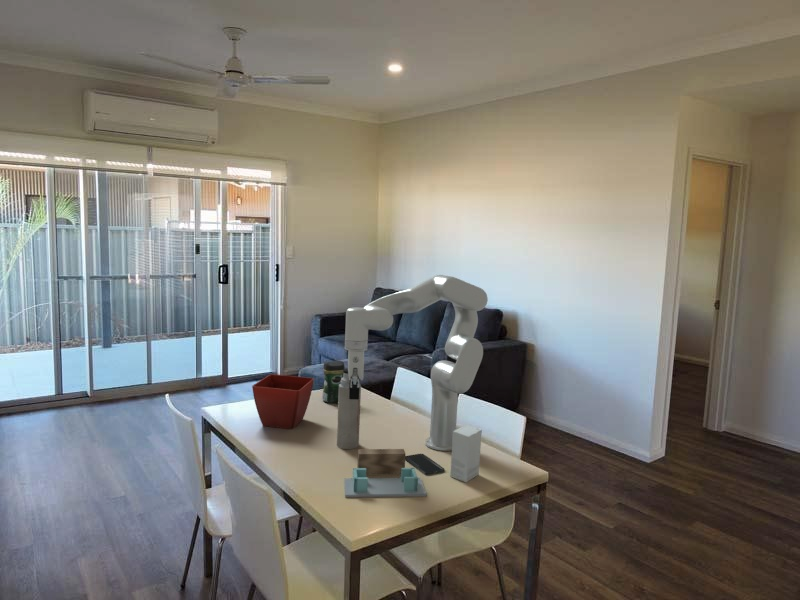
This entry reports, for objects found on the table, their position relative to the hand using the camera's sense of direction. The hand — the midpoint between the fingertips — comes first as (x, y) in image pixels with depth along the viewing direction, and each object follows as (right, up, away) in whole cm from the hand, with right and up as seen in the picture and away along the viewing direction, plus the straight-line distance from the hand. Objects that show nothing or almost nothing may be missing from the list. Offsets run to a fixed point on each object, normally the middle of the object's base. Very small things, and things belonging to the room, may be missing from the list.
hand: (354, 394), depth 187 cm
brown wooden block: (+9, -24, -6) cm, 27 cm away
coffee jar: (-15, -14, +68) cm, 71 cm away
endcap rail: (+11, -25, -18) cm, 33 cm away
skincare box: (+36, -25, -7) cm, 45 cm away
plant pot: (-31, -17, +36) cm, 51 cm away
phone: (+23, -24, +1) cm, 34 cm away
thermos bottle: (-4, -21, +15) cm, 26 cm away
